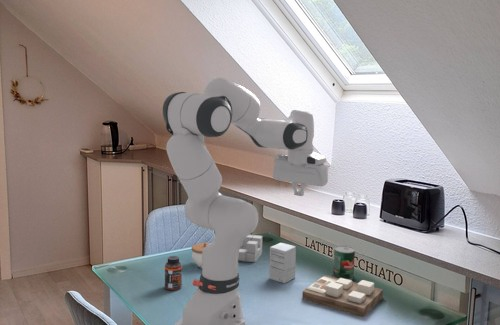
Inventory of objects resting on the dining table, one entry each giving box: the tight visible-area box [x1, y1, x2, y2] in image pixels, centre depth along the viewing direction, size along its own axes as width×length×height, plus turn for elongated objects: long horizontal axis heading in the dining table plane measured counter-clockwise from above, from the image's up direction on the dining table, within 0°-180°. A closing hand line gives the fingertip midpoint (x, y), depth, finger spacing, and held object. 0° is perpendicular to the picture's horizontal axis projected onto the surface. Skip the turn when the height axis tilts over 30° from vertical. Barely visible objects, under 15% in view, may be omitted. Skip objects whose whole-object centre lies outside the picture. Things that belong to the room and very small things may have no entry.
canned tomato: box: [332, 245, 356, 280], centre depth 188 cm, size 8×8×11 cm
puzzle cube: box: [238, 234, 263, 263], centre depth 209 cm, size 12×12×8 cm
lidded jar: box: [191, 242, 210, 269], centre depth 197 cm, size 11×11×9 cm
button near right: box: [348, 291, 366, 304], centre depth 162 cm, size 4×4×3 cm
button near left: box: [326, 282, 343, 297], centre depth 166 cm, size 4×4×3 cm
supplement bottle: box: [164, 255, 183, 291], centre depth 174 cm, size 6×6×11 cm
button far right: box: [357, 279, 375, 295], centre depth 168 cm, size 4×4×3 cm
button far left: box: [336, 278, 353, 290], centre depth 173 cm, size 4×4×3 cm
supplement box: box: [268, 242, 297, 284], centre depth 185 cm, size 7×7×13 cm
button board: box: [301, 274, 384, 318], centre depth 169 cm, size 18×22×3 cm
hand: (298, 195), depth 173 cm, fingers closed
